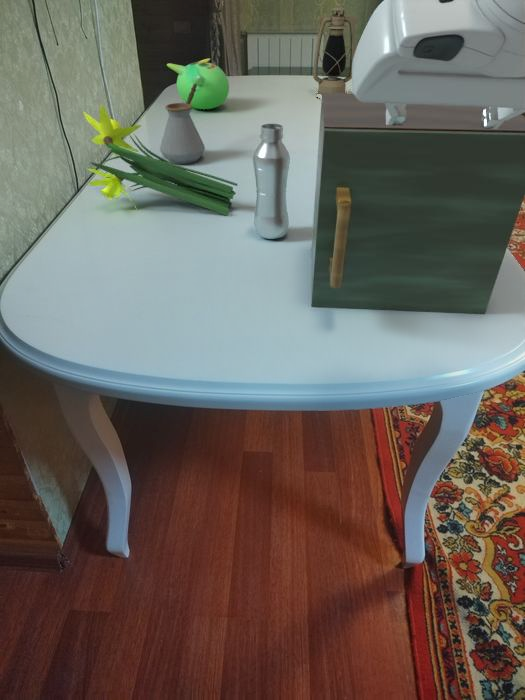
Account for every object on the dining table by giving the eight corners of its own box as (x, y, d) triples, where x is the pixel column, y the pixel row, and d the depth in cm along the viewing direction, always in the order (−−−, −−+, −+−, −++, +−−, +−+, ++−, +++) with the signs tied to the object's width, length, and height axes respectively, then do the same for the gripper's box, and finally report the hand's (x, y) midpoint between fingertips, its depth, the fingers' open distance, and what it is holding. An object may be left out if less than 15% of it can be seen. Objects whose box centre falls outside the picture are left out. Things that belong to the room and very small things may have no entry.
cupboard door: (495, 337, 73) (563, 151, 56) (311, 328, 74) (325, 145, 58) (483, 310, 78) (542, 133, 61) (311, 303, 79) (324, 128, 63)
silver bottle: (282, 245, 95) (285, 133, 82) (248, 239, 97) (246, 129, 84) (292, 231, 99) (297, 123, 87) (260, 225, 101) (260, 119, 89)
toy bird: (239, 108, 172) (238, 59, 163) (203, 118, 162) (199, 66, 153) (202, 99, 181) (199, 52, 172) (166, 109, 171) (161, 59, 162)
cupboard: (482, 310, 78) (541, 131, 62) (311, 303, 80) (324, 126, 63) (456, 254, 92) (499, 95, 75) (311, 249, 94) (321, 92, 77)
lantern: (347, 92, 190) (356, -5, 172) (354, 99, 181) (365, -2, 162) (309, 92, 190) (314, -5, 171) (314, 100, 180) (320, -2, 161)
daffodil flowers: (216, 236, 100) (47, 176, 99) (224, 241, 114) (76, 189, 113) (244, 151, 97) (71, 89, 97) (248, 168, 112) (98, 114, 111)
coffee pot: (198, 168, 127) (193, 103, 117) (154, 165, 129) (146, 101, 119) (220, 142, 143) (217, 83, 134) (181, 140, 145) (175, 81, 135)
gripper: (655, -27, 37) (541, 95, 50) (378, -42, 36) (338, 87, 49) (665, 52, 36) (546, 154, 49) (380, 39, 35) (339, 147, 48)
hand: (440, 120), depth 49 cm, fingers open, 8 cm apart
